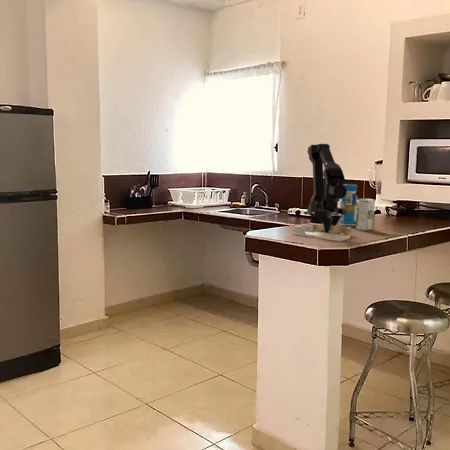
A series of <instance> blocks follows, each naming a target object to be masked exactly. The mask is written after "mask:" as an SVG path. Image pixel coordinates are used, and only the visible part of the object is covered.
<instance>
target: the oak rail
mask: <svg viewBox="0 0 450 450" xmlns="http://www.w3.org/2000/svg"><path fill="white" fill-rule="evenodd" d="M307 225H311V226H314V231H316V232H323V233H330V234H337V235H340V233H344V236H350V237H351V236H352V235H351V234H352V226H345V225H331V226H330V229H329V231H328V232H325V228H324V224H316V223H310V222H309V223H308V224H307Z"/></svg>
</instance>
